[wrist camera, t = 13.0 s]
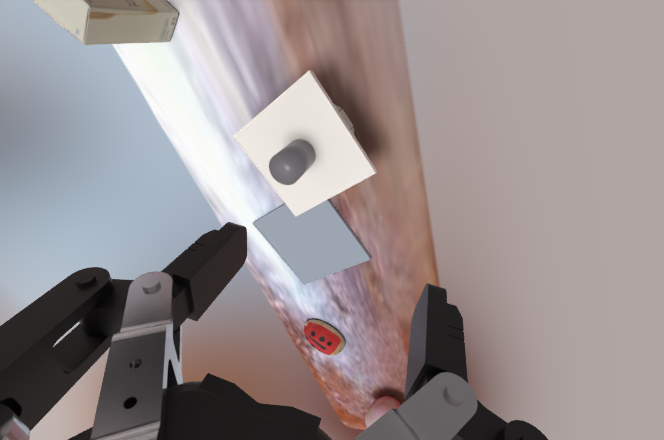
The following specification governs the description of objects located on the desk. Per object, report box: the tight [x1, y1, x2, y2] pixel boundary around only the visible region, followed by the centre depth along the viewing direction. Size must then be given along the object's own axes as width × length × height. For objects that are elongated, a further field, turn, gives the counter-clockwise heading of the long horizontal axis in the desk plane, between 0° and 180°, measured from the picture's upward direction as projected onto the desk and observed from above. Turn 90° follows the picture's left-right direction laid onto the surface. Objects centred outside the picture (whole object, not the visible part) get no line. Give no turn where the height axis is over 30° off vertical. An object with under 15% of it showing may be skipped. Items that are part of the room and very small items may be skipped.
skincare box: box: [34, 0, 178, 45], centre depth 35 cm, size 6×4×12 cm
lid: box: [233, 70, 377, 217], centre depth 35 cm, size 13×13×6 cm
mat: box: [253, 199, 371, 285], centre depth 52 cm, size 15×15×1 cm
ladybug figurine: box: [304, 320, 345, 355], centre depth 63 cm, size 7×10×4 cm
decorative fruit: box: [365, 396, 401, 428], centre depth 66 cm, size 9×8×10 cm
